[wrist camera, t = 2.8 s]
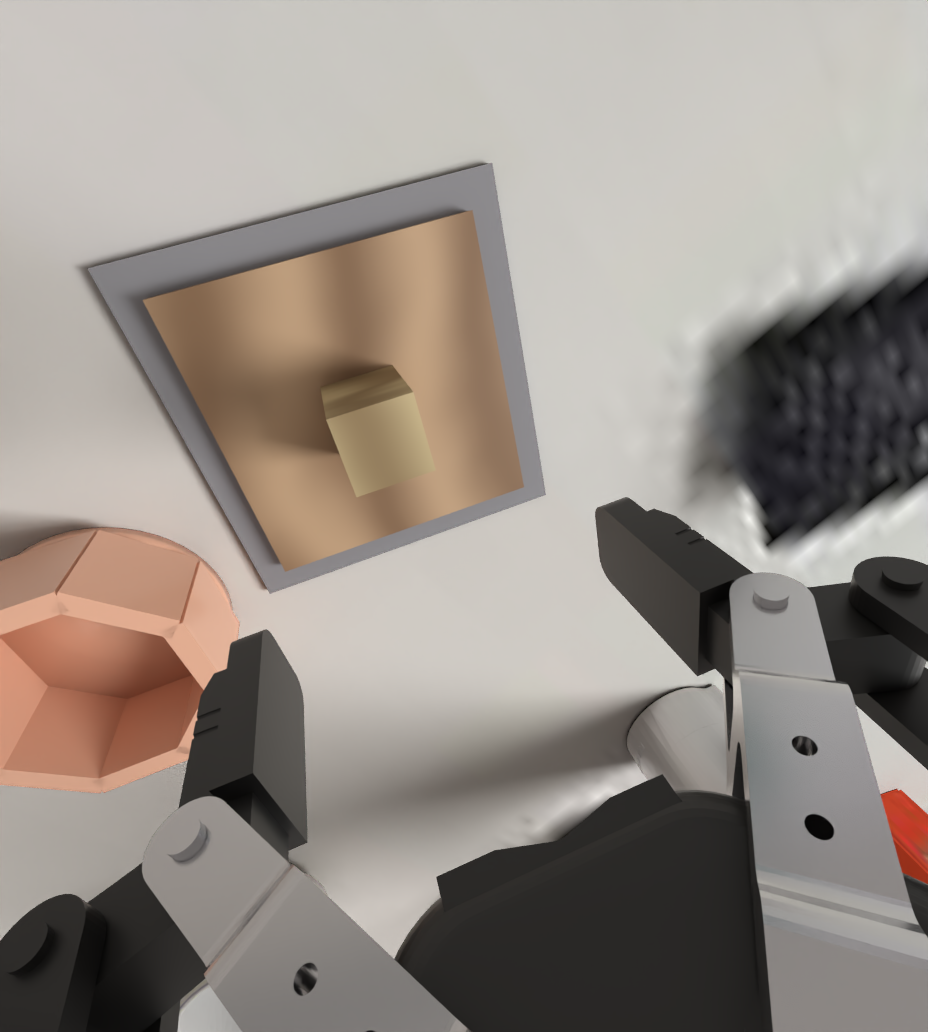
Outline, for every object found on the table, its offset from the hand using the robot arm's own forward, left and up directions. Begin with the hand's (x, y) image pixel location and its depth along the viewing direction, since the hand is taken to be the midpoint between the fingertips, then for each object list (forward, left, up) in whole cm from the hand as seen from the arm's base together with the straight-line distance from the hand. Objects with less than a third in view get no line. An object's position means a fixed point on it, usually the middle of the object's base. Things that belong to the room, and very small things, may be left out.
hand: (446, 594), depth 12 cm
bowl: (+16, +7, -16) cm, 24 cm away
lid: (0, 0, -16) cm, 16 cm away
